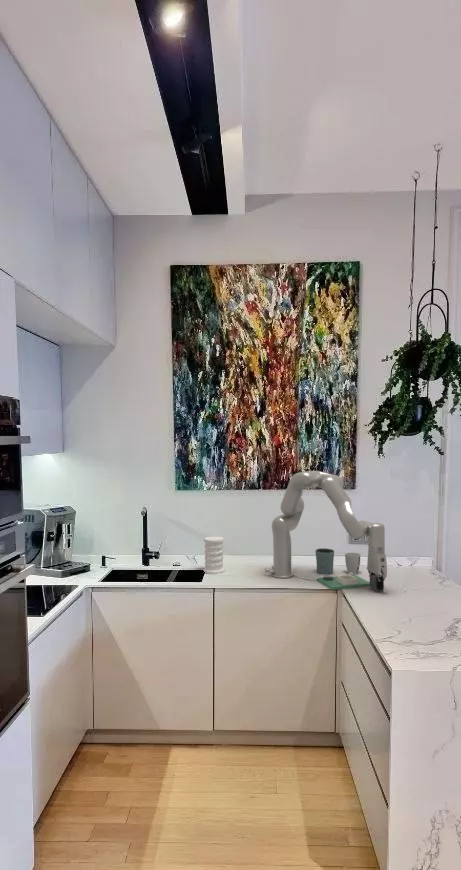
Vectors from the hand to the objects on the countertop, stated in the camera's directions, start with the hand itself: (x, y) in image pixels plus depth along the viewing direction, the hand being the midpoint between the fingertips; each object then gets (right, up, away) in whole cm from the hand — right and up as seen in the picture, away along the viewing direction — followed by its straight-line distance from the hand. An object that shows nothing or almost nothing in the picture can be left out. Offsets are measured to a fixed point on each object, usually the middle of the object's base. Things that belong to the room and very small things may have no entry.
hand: (376, 586), depth 227 cm
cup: (-4, -2, +30) cm, 30 cm away
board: (-13, -2, +12) cm, 18 cm away
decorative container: (-79, -3, +34) cm, 86 cm away
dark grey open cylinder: (-19, -2, +31) cm, 36 cm away
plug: (0, -2, 0) cm, 2 cm away
